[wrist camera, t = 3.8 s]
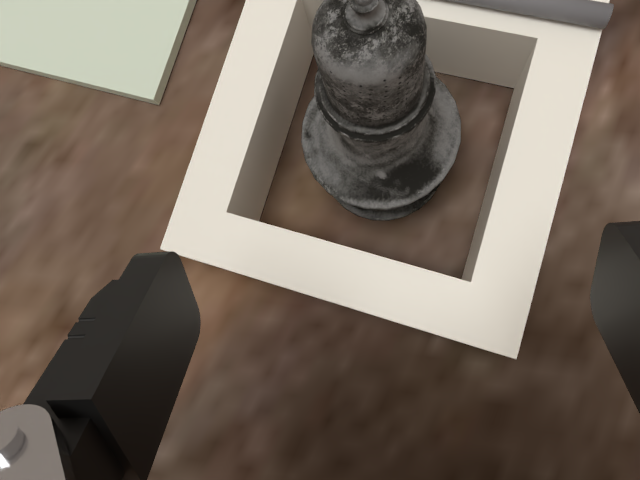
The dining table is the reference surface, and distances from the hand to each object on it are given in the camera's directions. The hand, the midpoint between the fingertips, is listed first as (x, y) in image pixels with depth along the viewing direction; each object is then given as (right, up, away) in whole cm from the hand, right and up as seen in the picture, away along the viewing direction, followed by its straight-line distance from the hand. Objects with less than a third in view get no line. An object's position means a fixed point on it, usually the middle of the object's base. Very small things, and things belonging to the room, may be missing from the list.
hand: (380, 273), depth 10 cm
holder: (+2, +4, +13) cm, 13 cm away
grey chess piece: (+2, +4, +13) cm, 13 cm away
